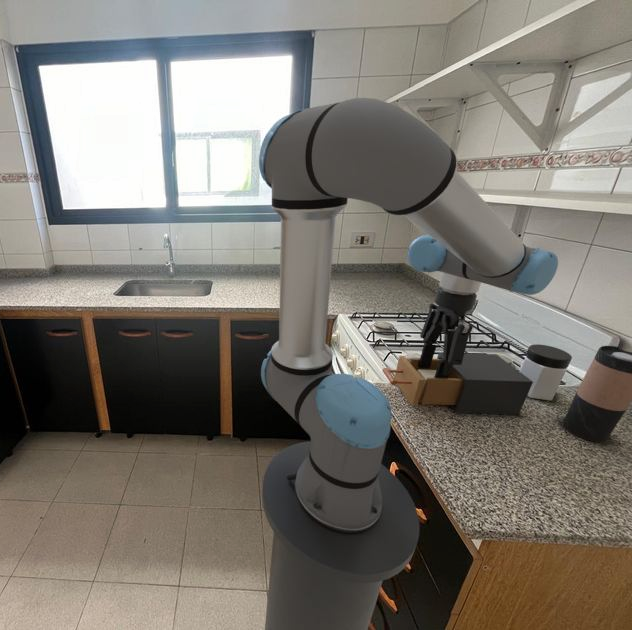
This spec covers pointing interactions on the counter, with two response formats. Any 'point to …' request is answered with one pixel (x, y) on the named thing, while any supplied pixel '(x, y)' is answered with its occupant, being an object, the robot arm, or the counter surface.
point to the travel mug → (601, 395)
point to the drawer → (435, 388)
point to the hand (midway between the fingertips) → (431, 374)
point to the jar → (544, 370)
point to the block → (426, 376)
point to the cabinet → (490, 385)
